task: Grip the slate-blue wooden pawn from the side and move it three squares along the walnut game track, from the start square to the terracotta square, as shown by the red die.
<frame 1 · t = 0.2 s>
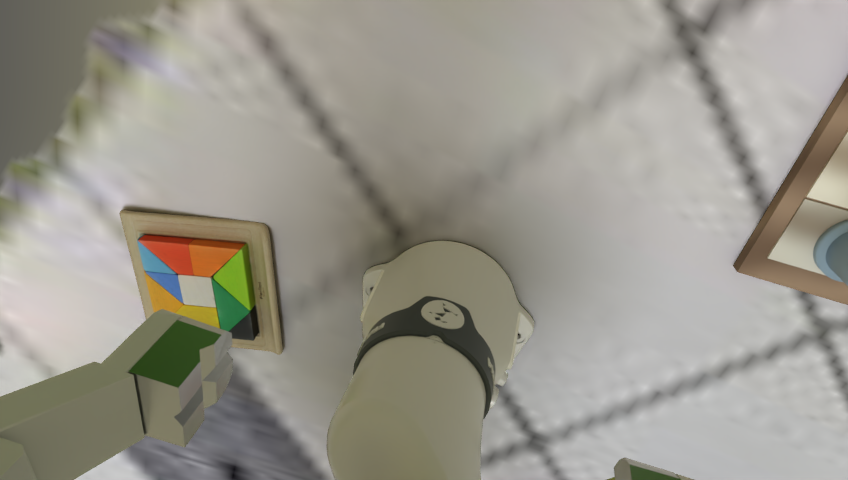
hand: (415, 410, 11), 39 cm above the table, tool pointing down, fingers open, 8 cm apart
wooden puzzle: (210, 278, 63), on the table
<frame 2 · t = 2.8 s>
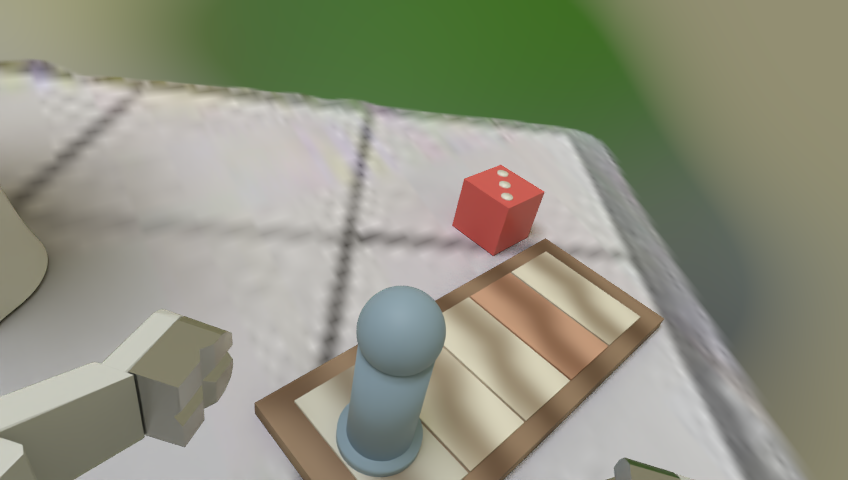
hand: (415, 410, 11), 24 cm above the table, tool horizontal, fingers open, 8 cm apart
pawn: (378, 435, 34), point 1 cm above the table, touching game track
game track: (489, 363, 43), on the table
red die: (490, 231, 57), on the table
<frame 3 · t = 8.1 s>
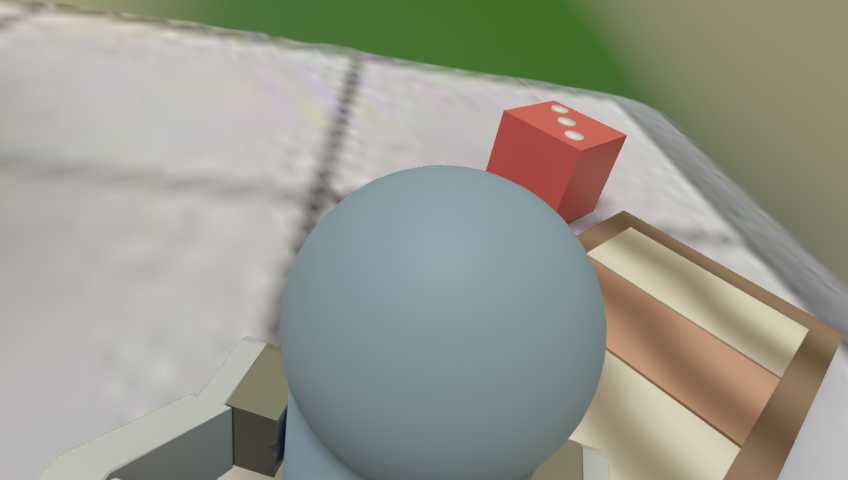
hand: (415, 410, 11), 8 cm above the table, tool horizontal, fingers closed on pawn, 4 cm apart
game track: (574, 410, 22), on the table
red die: (537, 200, 38), on the table
when the fingers open (9 cm above the table, at t = 12.9 s): pawn stays where it is, resting on game track.
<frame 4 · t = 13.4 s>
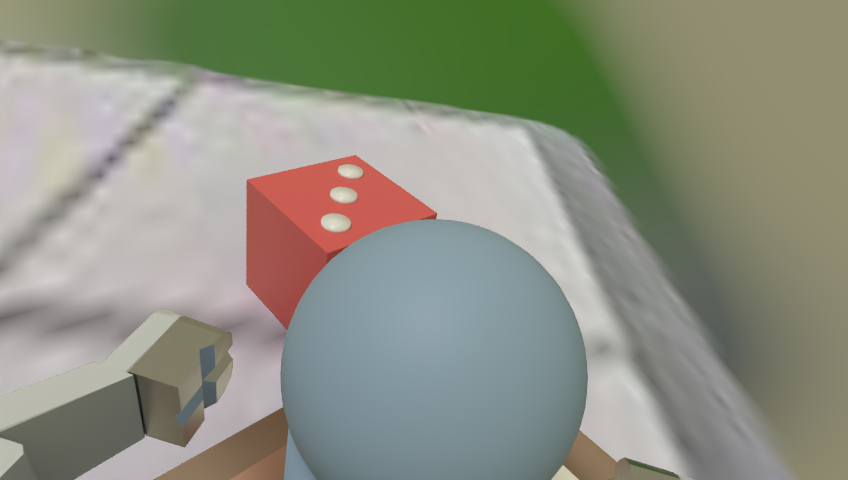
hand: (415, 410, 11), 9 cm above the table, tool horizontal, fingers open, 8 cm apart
red die: (331, 297, 26), on the table
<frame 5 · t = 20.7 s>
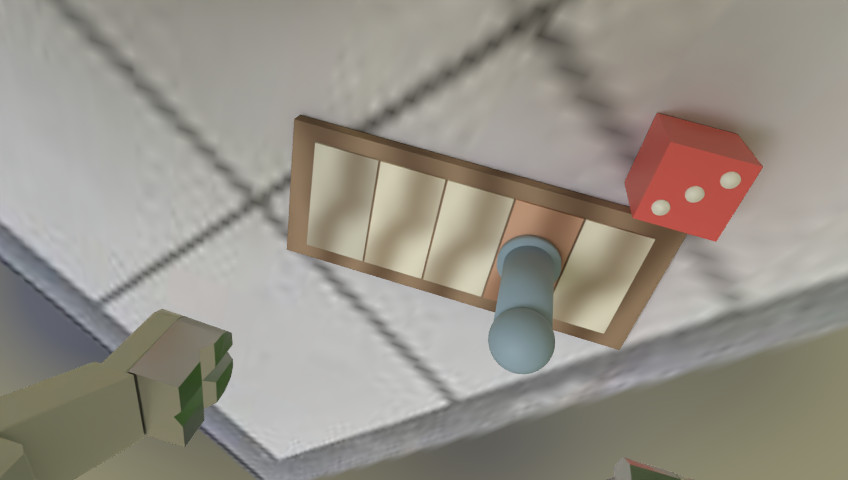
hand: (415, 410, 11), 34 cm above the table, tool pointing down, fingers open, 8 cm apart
pawn: (529, 261, 47), point 1 cm above the table, touching game track
game track: (467, 234, 48), on the table
red die: (678, 159, 40), on the table
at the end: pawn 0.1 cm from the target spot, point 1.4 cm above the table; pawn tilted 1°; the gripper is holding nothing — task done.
